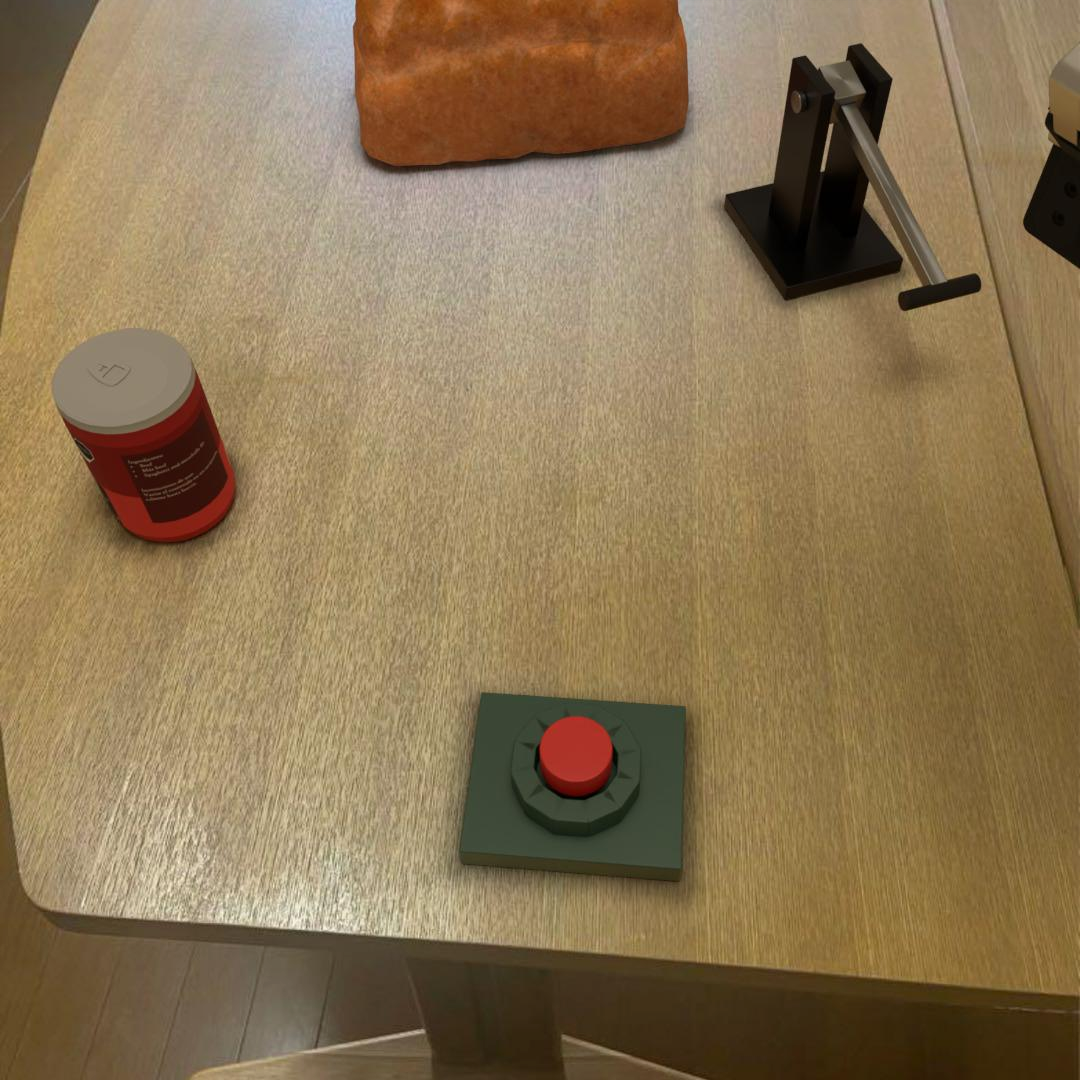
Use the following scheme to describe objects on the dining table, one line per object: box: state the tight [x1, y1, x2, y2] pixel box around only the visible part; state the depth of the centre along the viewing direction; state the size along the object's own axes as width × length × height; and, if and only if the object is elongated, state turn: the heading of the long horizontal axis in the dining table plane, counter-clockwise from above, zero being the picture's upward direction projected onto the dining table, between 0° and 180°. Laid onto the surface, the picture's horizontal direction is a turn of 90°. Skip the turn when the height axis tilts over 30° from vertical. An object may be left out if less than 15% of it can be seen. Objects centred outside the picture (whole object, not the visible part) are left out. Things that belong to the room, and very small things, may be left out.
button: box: [540, 716, 613, 796], centre depth 59 cm, size 4×4×2 cm
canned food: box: [51, 327, 236, 543], centre depth 71 cm, size 8×8×11 cm
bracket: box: [723, 42, 904, 301], centre depth 82 cm, size 11×9×14 cm
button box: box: [458, 691, 687, 882], centre depth 61 cm, size 11×9×4 cm
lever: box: [817, 60, 982, 312], centre depth 75 cm, size 18×5×2 cm, turn 18°
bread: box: [352, 0, 690, 167], centre depth 92 cm, size 14×26×16 cm, turn 96°
